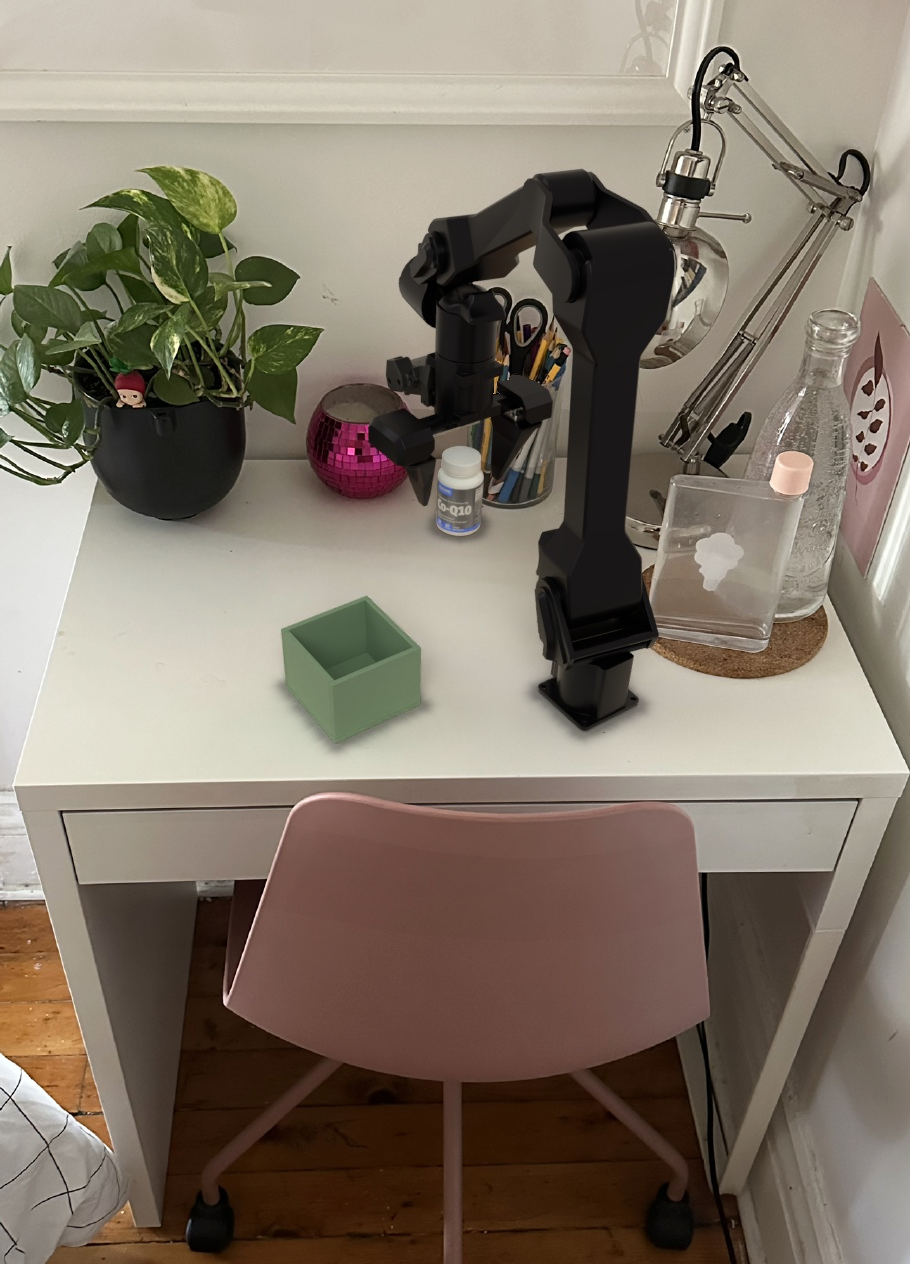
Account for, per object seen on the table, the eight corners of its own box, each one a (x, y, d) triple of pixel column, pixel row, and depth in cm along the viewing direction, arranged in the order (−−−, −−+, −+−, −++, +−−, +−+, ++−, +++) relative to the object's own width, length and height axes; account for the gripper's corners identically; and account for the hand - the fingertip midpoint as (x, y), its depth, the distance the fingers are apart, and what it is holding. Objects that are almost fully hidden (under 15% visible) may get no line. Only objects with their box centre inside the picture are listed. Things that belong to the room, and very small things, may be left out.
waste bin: (420, 705, 99) (421, 647, 94) (335, 743, 95) (332, 685, 91) (368, 651, 104) (366, 594, 100) (285, 686, 100) (280, 628, 96)
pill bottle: (430, 532, 119) (431, 462, 113) (443, 508, 122) (445, 439, 117) (473, 541, 118) (477, 471, 112) (486, 517, 121) (490, 448, 116)
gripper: (493, 298, 117) (486, 433, 127) (335, 340, 108) (341, 481, 118) (563, 339, 110) (549, 478, 120) (400, 387, 101) (400, 533, 111)
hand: (460, 491), depth 117 cm, fingers open, 9 cm apart
